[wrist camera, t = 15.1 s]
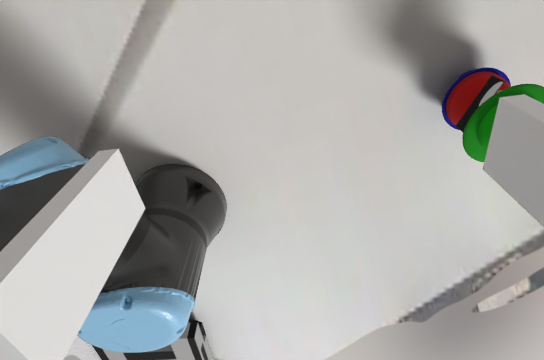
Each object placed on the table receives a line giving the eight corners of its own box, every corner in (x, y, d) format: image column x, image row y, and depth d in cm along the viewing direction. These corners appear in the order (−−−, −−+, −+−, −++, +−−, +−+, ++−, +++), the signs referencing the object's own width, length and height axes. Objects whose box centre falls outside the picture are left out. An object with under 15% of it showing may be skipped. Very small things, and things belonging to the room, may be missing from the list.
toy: (447, 134, 47) (512, 195, 34) (408, 99, 44) (462, 150, 31) (505, 85, 43) (601, 132, 30) (466, 42, 40) (554, 75, 27)
